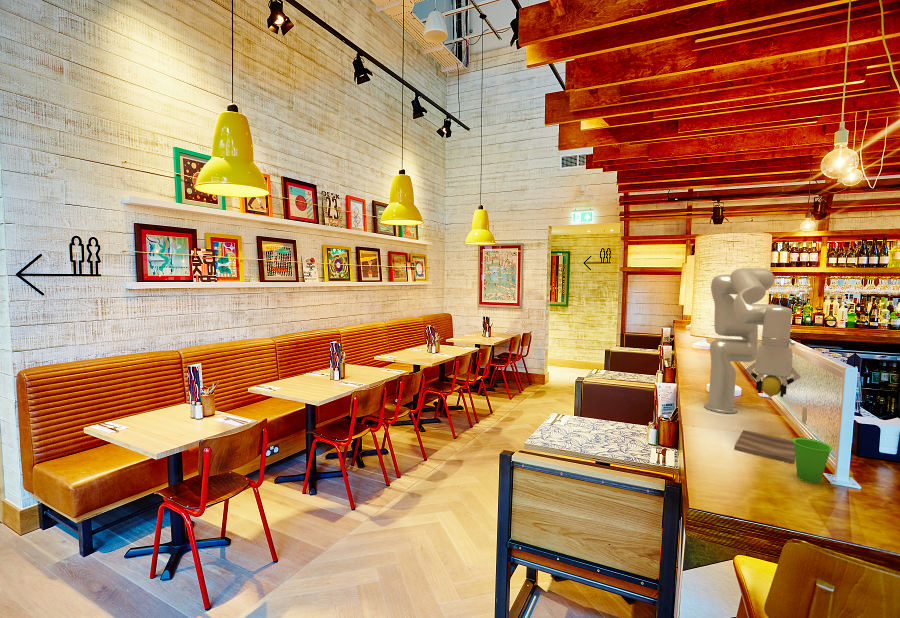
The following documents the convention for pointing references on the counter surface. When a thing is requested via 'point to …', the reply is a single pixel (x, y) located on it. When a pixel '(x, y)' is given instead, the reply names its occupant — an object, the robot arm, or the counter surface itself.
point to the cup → (810, 458)
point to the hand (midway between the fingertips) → (770, 393)
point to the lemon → (771, 385)
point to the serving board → (766, 446)
